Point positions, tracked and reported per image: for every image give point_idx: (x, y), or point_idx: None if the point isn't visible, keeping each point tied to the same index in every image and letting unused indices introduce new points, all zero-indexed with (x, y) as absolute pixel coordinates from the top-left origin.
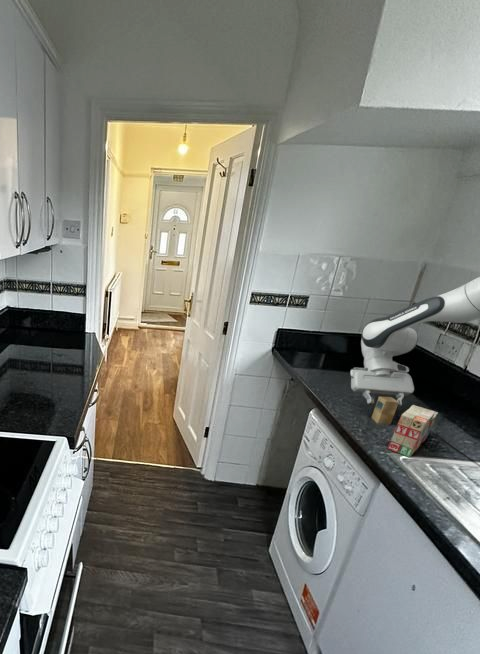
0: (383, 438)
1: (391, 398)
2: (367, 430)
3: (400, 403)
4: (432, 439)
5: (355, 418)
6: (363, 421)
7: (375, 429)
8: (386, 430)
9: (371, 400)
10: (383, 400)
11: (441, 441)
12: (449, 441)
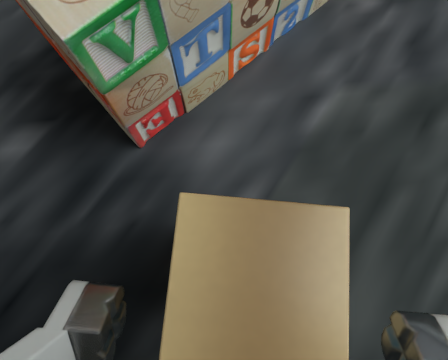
0: (387, 12)
1: (195, 324)
2: (435, 98)
3: (85, 286)
4: None
5: (435, 277)
6: (397, 230)
7: (374, 116)
8: (307, 109)
9: (440, 329)
10: (346, 256)
11: None
12: (5, 11)
